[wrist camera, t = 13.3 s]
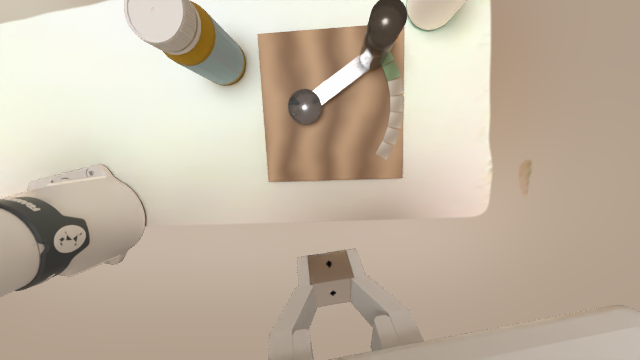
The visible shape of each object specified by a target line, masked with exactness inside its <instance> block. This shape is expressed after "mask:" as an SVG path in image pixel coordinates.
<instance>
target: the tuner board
mask: <svg viewBox="0 0 640 360" xmlns="http://www.w3.org/2000/svg"><path fill="white" fill-rule="evenodd" d="M367 26H368V25H367ZM367 26H354V27H342V28H329V29H316V30H303V31H291V32H278V33H265V34H258V46H259V59H260V72H261V86H262V99H263V112H264V126H265V139H266V152H267V166H268V179H269V182H284V181H316V180H349V179H382V178H402V167H403V112H404V96H403V94H404V93H403V87H404V27H403V29H402V31H401V32H400V34H399V36H398V37H399V39H398V40H397V41H396V42H395V43H394V45H393V46H392V48H391V50H390V51H389V53H388V55H387V57H386V58H385V60H384V62H383V63H382V65H381V66H380V67H378V68H376V69H371V70H370V71H369V72H367V73H366V74H365V75H363V76H362V77H361V78H359V79H358V80H357V81H355V82H354V83H353V84H351V85H350V86H349V87H347V88H346V89H345V90H343V91H342V92H341V93H339V94H338V95H337V96H335V97H334V98H333V99H331V100H330V101H329V102H327V103H326V104H325V105H323V106H322V113H321V116H320V118H319V119H318V120H317V121H316V122H315V123H313V124H310V125H302V124H300V123H298V122H296V121H295V120H294V119H293V118H292V117H291V116H290V114H289V111H288V102H289V99H290V97H291V96H292V94H293V93H295V92H296V91H298V90H300V89H309V90H312V91H313V90H315V89H316V88H317V87H319V86H320V85H321V84H322V83H324V82H325V81H326V80H328V79H329V78H330V77H332V76H333V75H334V74H335V73H337V72H338V71H339V70H341V69H342V68H343V67H345V66H346V65H347V64H349V63H350V62H351V61H352V60H354V59H355V58H356V57H358V56H359V55H360V52H361V48H362V44H363V41H364V37H365V33H366V30H367Z"/></svg>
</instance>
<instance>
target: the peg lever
mask: <svg viewBox="0 0 640 360" xmlns="http://www.w3.org/2000/svg"><path fill="white" fill-rule="evenodd" d="M406 20H407V11H406V8H405V6H404V4H403V3H402V2H401V1H400V0H379V1H378V2H377V3H376V4H375V5H374V7H373V9H372V11H371V15H370V18H369V22H368V26H367V30H366V33H365V37H364V41H363V44H362V48H361V52H360V55H359V56H358V57H356V58H355V59H354V60H352V61H351V62H350V63H349V64H347V65H346V66H345V67H343V68H342V69H341V70H339V71H338V72H337V73H335V74H334V75H333V76H332V77H330V78H329V79H328V80H326V81H325V82H324V83H322V84H321V85H320V86H319V87H317V88H316V89H315V90H313V91H312V90H309V89H300V90H298V91H296V92H295V93H293V94H292V96H291V97H290V99H289V102H288V111H289V114H290V116H291V117H292V118H293V119H294V120H295V121H296V122H298V123H300V124H302V125H310V124H313V123H315V122H316V121H317V120H318V119H319V118H320V116H321V113H322V106H323V105H325V104H326V103H327V102H329V101H330V100H331V99H333V98H334V97H335V96H337V95H338V94H339V93H341V92H342V91H343V90H345V89H346V88H347V87H349V86H350V85H351V84H353V83H354V82H355V81H357V80H358V79H359V78H361V77H362V76H363V75H365V74H366V73H367V72H369V71H370V70H371V69H376V68H378V67H380V66H381V65H382V63H383V62H384V60H385V58H386V57H387V55H388V53H389V51H390V50H391V48H392V46H393V45H394V43H395V42H396V41H397V40H398V39H399V37H398V36H399V34H400V32H401V31H402V29H403V27H404V25H405V23H406Z"/></svg>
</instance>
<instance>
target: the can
mask: <svg viewBox="0 0 640 360" xmlns="http://www.w3.org/2000/svg"><path fill="white" fill-rule="evenodd" d="M466 1H467V0H407V12H408V15H409V18H410V20H411V21H412V22H413V23H414V24H415V25H416V26H417V27H419V28H421V29H425V30H433V29H437V28H439V27H441V26H443V25H444V24H446V23H447V22H448V21H449V20H450V19H451V18H452V16H453V15H454V14H455V13H456V12H457V11H458V10H459V9H460V8H461V7H462V5H463V4H464V3H465V2H466Z"/></svg>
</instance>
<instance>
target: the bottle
mask: <svg viewBox="0 0 640 360" xmlns="http://www.w3.org/2000/svg"><path fill="white" fill-rule="evenodd" d="M124 12H125V17H126V20H127V22H128V24H129V26H130V28H131V29H132V31H133V32H134V33H135V34H136V35H137V36H138V37H140V39H142V40H143V41H145V42H147V43H149V44H151V45H153V46H154V47H156V48H158V49H160V50H162V51H163V52H164V53H165V54H166V55H167V57H169V58H170V59H172V60H173V61H175V62H177V63H178V64H180V65H182V66H184V67H186V68H188V69H190V70H192V71H193V72H195V73H197V74H199V75H201V76H203V77H205V78H207V79H209V80H211V81H213V82H215V83H217V84H220V85H230V84H233V83H235V82H236V81H238V80H239V79H240V77H241V76H242V74H243V72H244V69H245V57H244V54H243V52H242V50H241V48H240V47H239V46H238V45H237V43H236V42H235V41H234V40H233V39H232V38H231V37H230V36H229V35H228V34H227V33H226V32H225V31H224V30H223V29H222V28H221V27H220V26H219V25H218V24H217V23H216V22H215V21H214V20H213V18H212V17H211V16H210V15H209V14H208V13H207V12H206V11H205V10H204V9H202V8H201V7H200V6H199V5H197V4H196V3H194V2H192V1H189V0H124Z"/></svg>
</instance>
